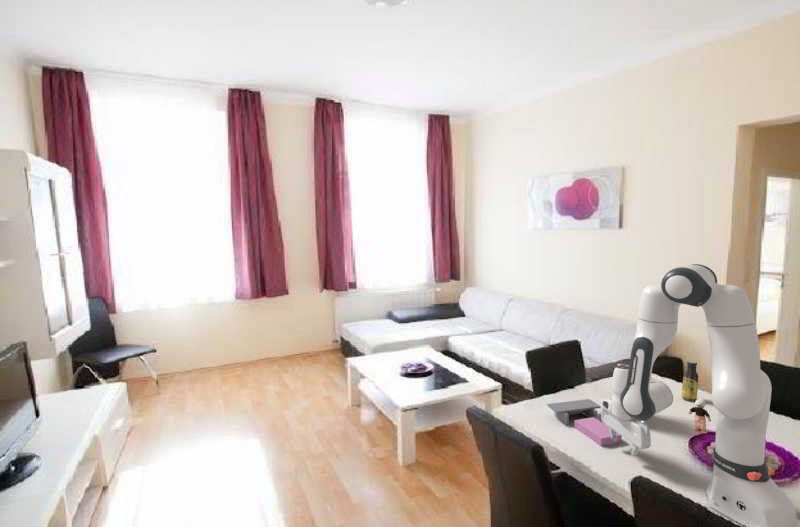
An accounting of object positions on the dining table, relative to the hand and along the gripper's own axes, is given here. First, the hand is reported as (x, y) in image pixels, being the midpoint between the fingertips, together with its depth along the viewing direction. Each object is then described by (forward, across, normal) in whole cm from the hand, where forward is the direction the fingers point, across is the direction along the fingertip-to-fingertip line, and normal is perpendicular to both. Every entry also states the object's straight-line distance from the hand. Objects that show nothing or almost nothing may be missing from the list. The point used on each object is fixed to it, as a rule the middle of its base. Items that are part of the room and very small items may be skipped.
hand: (623, 447), depth 146 cm
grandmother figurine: (+3, +8, -41) cm, 42 cm away
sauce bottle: (+4, +32, -61) cm, 69 cm away
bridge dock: (+4, +29, -1) cm, 29 cm away
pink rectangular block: (+4, +15, -1) cm, 16 cm away
